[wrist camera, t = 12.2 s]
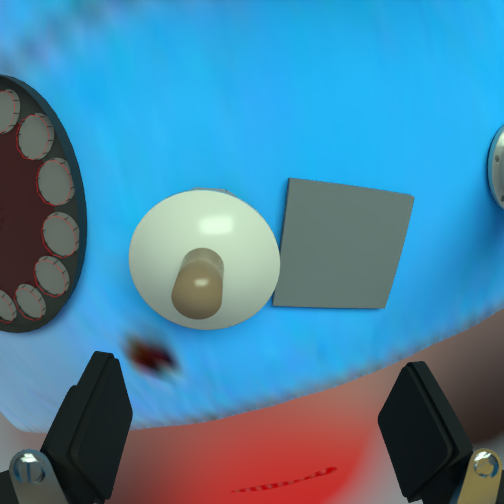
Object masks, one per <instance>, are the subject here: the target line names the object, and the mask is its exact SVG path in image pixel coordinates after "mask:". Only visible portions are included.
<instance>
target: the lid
mask: <svg viewBox="0 0 504 504" xmlns="http://www.w3.org/2000/svg"><path fill="white" fill-rule="evenodd" d="M129 266H130V272H131V276H132V279H133V282H134V284H135V286H136V288H137V290H138V292H139V293H140V295H141V297H142V298H143V299H144V300H145V302H146V303H147V304H148V305H149V306H150V307H151V308H152V309H153V310H154V311H156V312H157V313H158V314H159V315H161V316H162V317H164V318H166V319H167V320H169V321H171V322H173V323H176V324H178V325H181V326H184V327H188V328H192V329H200V330H215V329H222V328H227V327H231V326H234V325H237V324H239V323H241V322H243V321H245V320H247V319H248V318H250V317H252V316H253V315H254V314H256V313H257V312H258V311H259V310H260V309H261V308H262V307H263V306H264V305H265V304H266V302H267V301H268V300H269V298H270V297H271V295H272V293H273V291H274V290H275V287H276V284H277V282H278V277H279V273H280V254H279V250H278V245H277V242H276V239H275V237H274V234H273V232H272V230H271V228H270V226H269V225H268V223H267V222H266V220H265V219H264V218H263V216H262V215H261V214H260V213H259V212H258V211H257V210H256V209H255V208H253V207H252V206H251V205H249V204H248V203H247V202H245V201H243V200H242V199H240V198H238V197H236V196H233V195H231V194H228V193H225V192H221V191H217V190H210V189H194V190H187V191H183V192H180V193H176V194H174V195H171V196H169V197H167V198H165V199H164V200H162V201H160V202H159V203H157V204H156V205H155V206H154V207H153V208H151V209H150V210H149V212H148V213H147V214H146V215H145V216H144V217H143V218H142V220H141V221H140V223H139V224H138V226H137V227H136V230H135V232H134V234H133V236H132V240H131V243H130V249H129Z"/></svg>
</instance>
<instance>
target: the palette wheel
mask: <svg viewBox="0 0 504 504" xmlns="http://www.w3.org/2000/svg"><path fill="white" fill-rule="evenodd" d="M86 237H87V217H86V202H85V196H84V188H83V183H82V179H81V174H80V170H79V165H78V162H77V159H76V156H75V153H74V150H73V147H72V145H71V142H70V140H69V138H68V136H67V133H66V131H65V129H64V127H63V125H62V124H61V122H60V120H59V118H58V117H57V115H56V113H55V112H54V110H53V109H52V108H51V107H50V105H49V104H48V103H47V101H46V100H45V99H44V98H43V97H42V96H41V95H40V94H39V93H38V92H37V91H36V90H35V89H33V88H32V87H30V86H29V85H28V84H26V83H25V82H23V81H21V80H18V79H16V78H14V77H10V76H5V75H0V330H1V331H6V332H14V333H21V332H29V331H32V330H35V329H38V328H40V327H42V326H43V325H45V324H47V323H48V322H49V321H50V320H52V319H53V318H54V317H55V316H56V315H57V313H58V312H59V311H60V310H61V308H62V307H63V306H64V304H65V303H66V302H67V301H68V299H69V298H70V296H71V294H72V292H73V291H74V289H75V287H76V284H77V282H78V279H79V277H80V274H81V270H82V266H83V262H84V256H85V249H86Z"/></svg>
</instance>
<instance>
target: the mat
mask: <svg viewBox="0 0 504 504" xmlns="http://www.w3.org/2000/svg"><path fill="white" fill-rule="evenodd" d="M413 202H414V197H413V196H411V195H408V194H403V193H397V192H391V191H385V190H378V189H372V188H365V187H359V186H352V185H345V184H337V183H330V182H322V181H313V180H305V179H296V178H289V179H288V187H287V195H286V203H285V211H284V219H283V226H282V234H281V241H280V249H279V254H280V273H279V277H278V282H277V284H276V287H275V290H274V291H273V298H272V303H273V306H294V307H325V308H385V306H386V303H387V300H388V297H389V294H390V290H391V287H392V284H393V280H394V277H395V274H396V270H397V267H398V263H399V260H400V256H401V252H402V248H403V245H404V241H405V237H406V233H407V229H408V224H409V220H410V216H411V211H412V207H413Z"/></svg>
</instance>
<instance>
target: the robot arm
mask: <svg viewBox="0 0 504 504" xmlns="http://www.w3.org/2000/svg"><path fill="white" fill-rule="evenodd" d="M488 179H489V186H490V189H491V193H492V195H493V197H494V200H495V201H496V203H497V204H498V205H499V206H500V207H501V208H502V209H504V126H502V127H501V128H500V129H499V131H498V132H497V134H496V135H495V138H494V140H493V142H492V145H491V148H490V153H489V158H488ZM132 415H133V412H132V407H131V404H130V400H129V397H128V393H127V390H126V386H125V382H124V378H123V375H122V371H121V367H120V362H119V360H118V359H116V358H114V355H113V354H112V353H106V352H100V351H95V352H94V353H93V355H92V357H91V359H90V361H89V363H88V365H87V366H86V368H85V370H84V372H83V374H82V376H81V378H80V380H79V382H78V384H77V385H73V386H72V387H71V388H70V389H69V391H68V392H67V394H66V396H65V398H64V400H63V402H62V404H61V407H60V409H59V411H58V413H57V415H56V417H55V419H54V421H53V423H52V425H51V427H50V430H49V432H48V434H47V436H46V438H45V441H44V443H43V445H42V447H41V450H40V452H39V451H37V450H33V449H26V450H22V451H20V452H18V453H17V454H16V455H15V456H13V458H12V460H11V461H10V466H9V470H7V471H4V472H1V473H0V504H93V503H97V504H104V502H105V499H107V500H108V499H110V497H111V494H112V490H113V486H114V482H115V478H116V474H117V471H118V467H119V463H120V459H121V456H122V452H123V449H124V445H125V441H126V438H127V434H128V431H129V428H130V424H131V421H132ZM378 425H379V427H380V430H381V433H382V436H383V439H384V441H385V444H386V447H387V450H388V453H389V455H390V459H391V462H392V465H393V467H394V470H395V474H396V477H397V480H398V483H399V486H400V489H401V491H402V494H403V496H404V497H407V500H408V502H409V503H411V502H414V501H418V500H421V499H422V501H423V504H504V470H502V463H501V459H500V458H499V456H498V455H497V454H496V453H495V452H494V451H492V450H490V449H485V448H484V449H479V450H477V451H475V452H474V453H473V451H472V449H473V446H472V444H471V442H470V441H469V439H468V437H467V435H466V433H465V431H464V429H463V427H462V425H461V424H460V422H459V420H458V418H457V416H456V414H455V413H454V411H453V409H452V407H451V405H450V404H449V402H448V400H447V398H446V397H445V395H444V393H443V391H442V390H441V388H440V387H439V385H438V383H437V381H436V380H435V378H434V376H433V375H432V373H431V371H430V370H429V368H428V366H427V365H426V363H425V362H423V361H419V362H409V363H407V364H406V366H405V367H403V368H402V370H401V372H400V374H399V376H398V378H397V380H396V382H395V384H394V386H393V388H392V390H391V392H390V394H389V396H388V398H387V400H386V402H385V404H384V406H383V408H382V410H381V411H380V413H379V415H378Z"/></svg>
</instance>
